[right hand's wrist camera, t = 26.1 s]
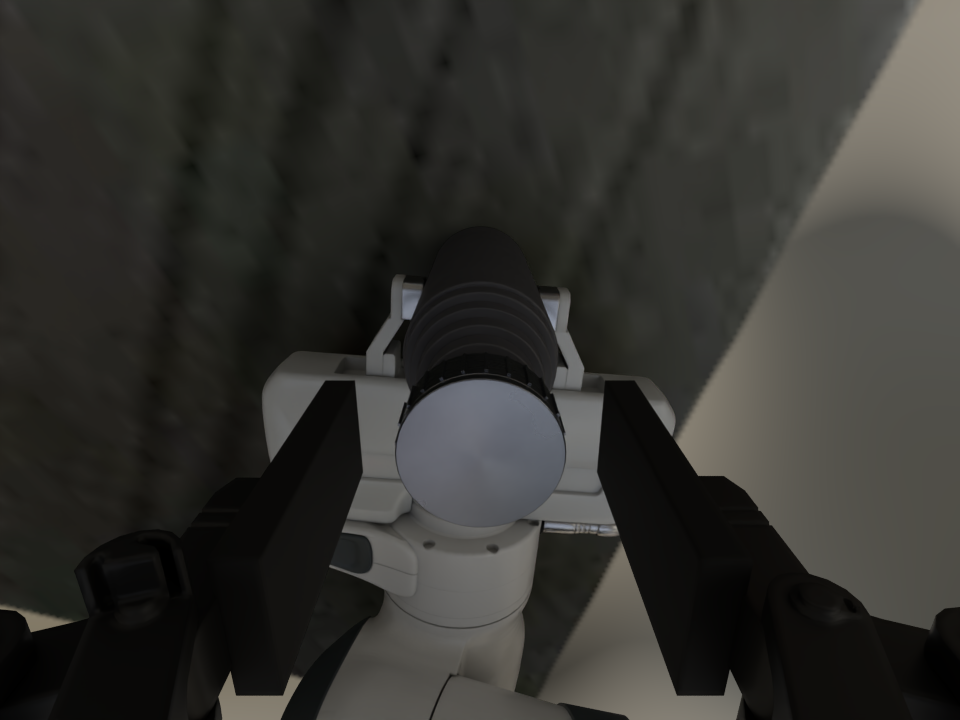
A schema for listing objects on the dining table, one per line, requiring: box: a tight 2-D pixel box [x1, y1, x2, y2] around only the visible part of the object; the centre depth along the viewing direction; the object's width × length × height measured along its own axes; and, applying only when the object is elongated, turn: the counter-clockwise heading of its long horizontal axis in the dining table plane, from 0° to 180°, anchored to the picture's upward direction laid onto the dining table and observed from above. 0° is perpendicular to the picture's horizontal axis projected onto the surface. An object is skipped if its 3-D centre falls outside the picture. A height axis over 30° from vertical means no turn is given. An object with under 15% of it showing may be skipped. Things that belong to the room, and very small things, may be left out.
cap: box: [395, 352, 566, 527], centre depth 14 cm, size 4×4×2 cm
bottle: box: [403, 227, 558, 392], centre depth 23 cm, size 5×5×20 cm
